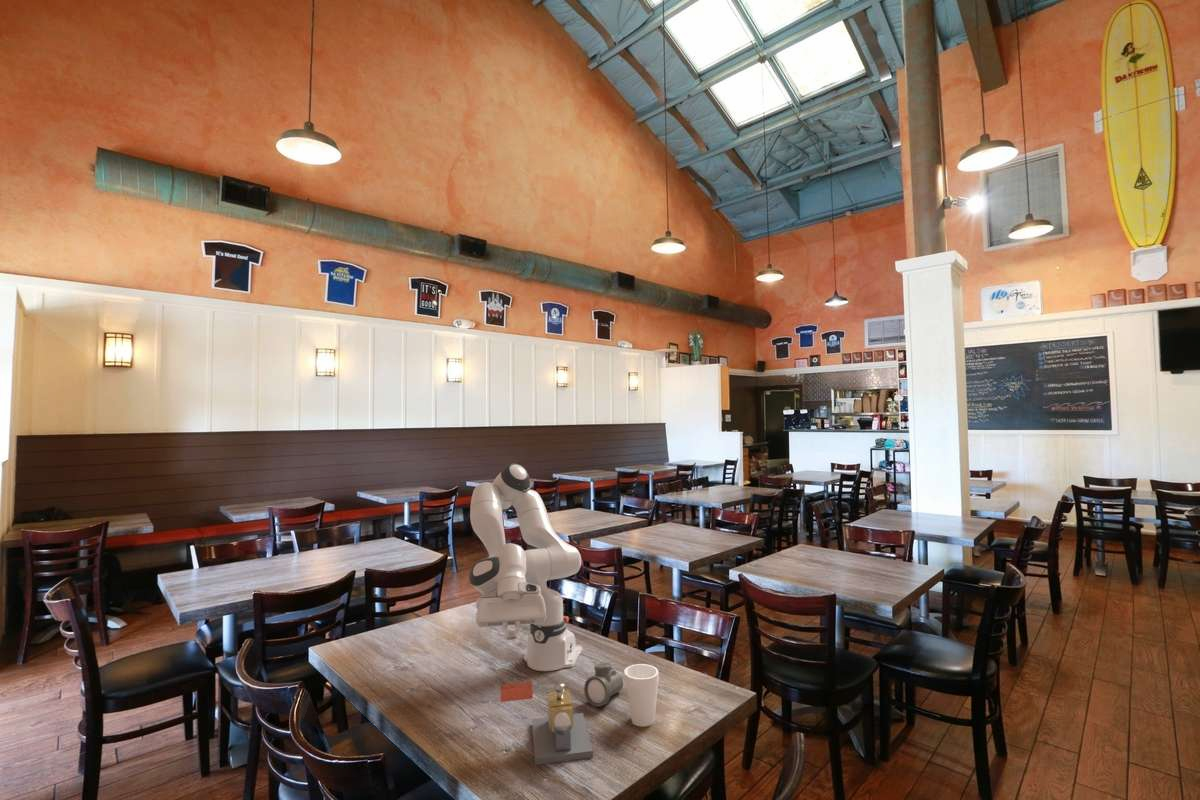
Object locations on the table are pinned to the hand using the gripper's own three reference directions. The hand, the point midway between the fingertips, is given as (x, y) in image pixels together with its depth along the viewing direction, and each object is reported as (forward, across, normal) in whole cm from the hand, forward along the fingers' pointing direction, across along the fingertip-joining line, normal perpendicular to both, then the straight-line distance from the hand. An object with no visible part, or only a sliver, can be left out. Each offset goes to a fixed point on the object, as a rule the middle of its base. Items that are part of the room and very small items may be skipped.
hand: (511, 638), depth 153 cm
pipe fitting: (+12, +27, +18) cm, 35 cm away
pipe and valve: (+24, +13, +3) cm, 28 cm away
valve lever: (+17, +6, -4) cm, 19 cm away
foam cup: (+22, +36, +8) cm, 42 cm away
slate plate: (+25, +13, +4) cm, 29 cm away
